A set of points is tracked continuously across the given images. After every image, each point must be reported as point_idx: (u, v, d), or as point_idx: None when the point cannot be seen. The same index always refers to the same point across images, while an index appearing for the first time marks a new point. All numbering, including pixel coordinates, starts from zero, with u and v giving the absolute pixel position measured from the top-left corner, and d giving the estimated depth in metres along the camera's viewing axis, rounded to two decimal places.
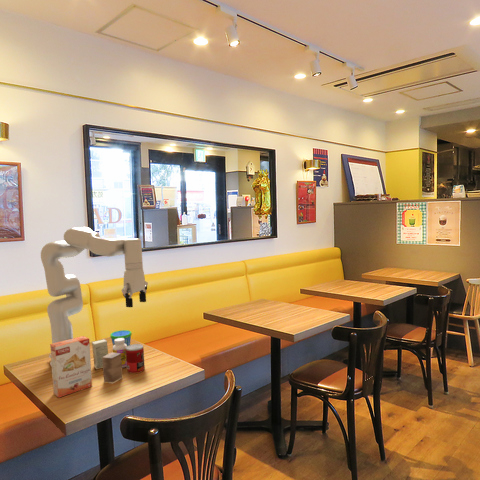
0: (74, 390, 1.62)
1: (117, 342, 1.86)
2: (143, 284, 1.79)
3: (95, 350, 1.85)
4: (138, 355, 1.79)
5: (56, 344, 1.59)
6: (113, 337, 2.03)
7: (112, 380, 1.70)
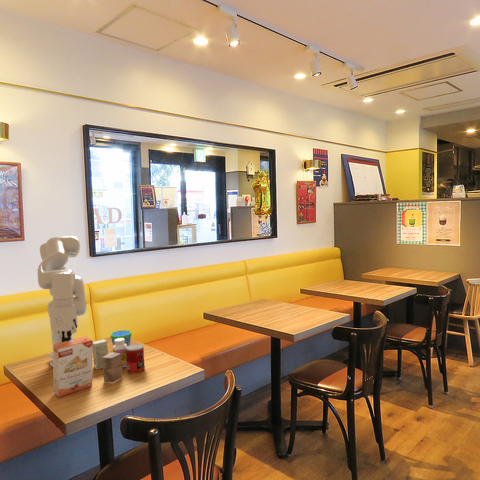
0: (74, 390, 1.62)
1: (117, 342, 1.86)
2: None
3: (95, 350, 1.85)
4: (138, 355, 1.79)
5: (59, 345, 1.57)
6: (113, 337, 2.03)
7: (112, 380, 1.70)
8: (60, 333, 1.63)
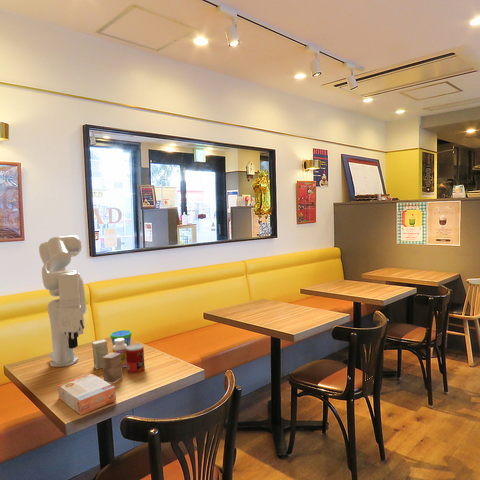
0: None
1: (117, 342, 1.86)
2: None
3: (95, 350, 1.85)
4: (138, 355, 1.79)
5: (84, 407, 1.44)
6: (113, 337, 2.03)
7: (112, 380, 1.70)
8: (67, 334, 1.62)
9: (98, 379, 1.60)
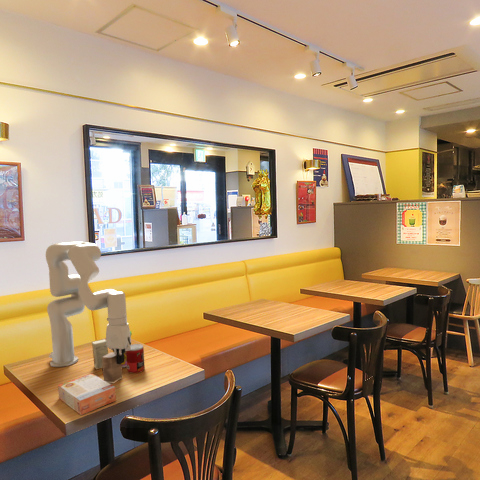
0: None
1: None
2: None
3: (95, 350, 1.85)
4: (138, 355, 1.79)
5: (84, 407, 1.44)
6: None
7: (112, 380, 1.70)
8: (114, 350, 1.70)
9: (98, 379, 1.60)
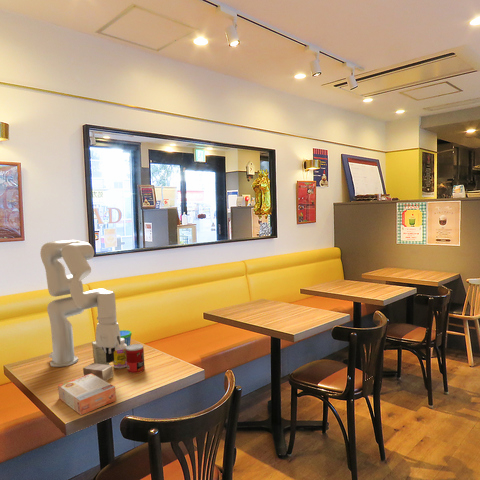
0: None
1: None
2: None
3: (95, 350, 1.85)
4: (138, 355, 1.79)
5: (84, 407, 1.44)
6: None
7: (100, 371, 1.71)
8: (104, 349, 1.72)
9: (98, 379, 1.60)
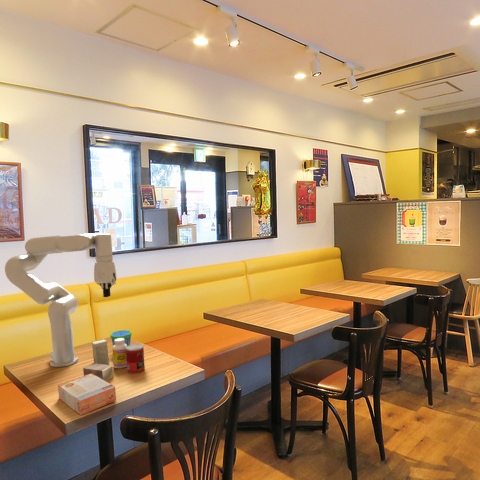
0: None
1: (117, 342, 1.86)
2: None
3: (95, 350, 1.85)
4: (138, 355, 1.79)
5: (84, 407, 1.44)
6: (113, 337, 2.03)
7: (100, 371, 1.71)
8: (101, 285, 1.92)
9: (98, 379, 1.60)
